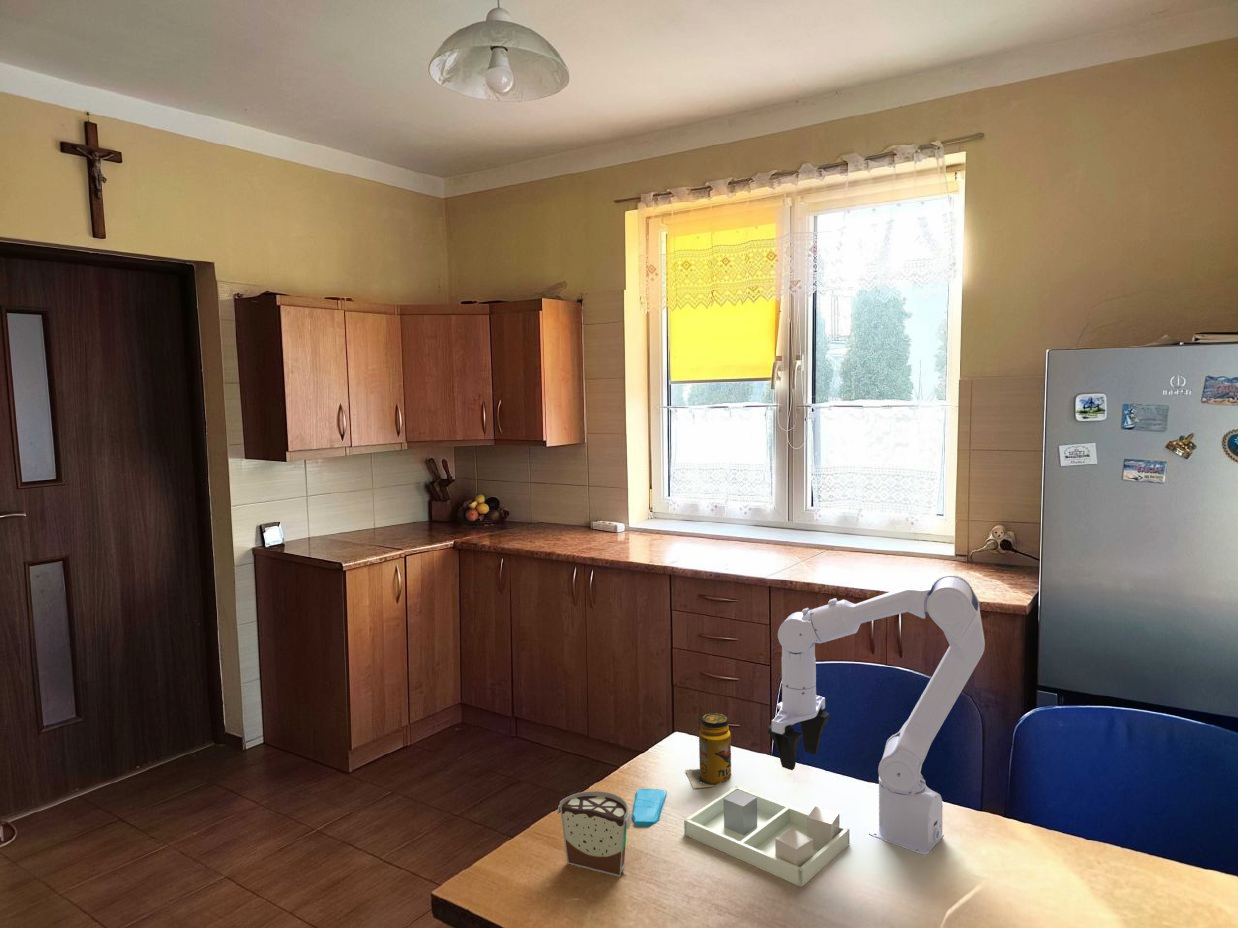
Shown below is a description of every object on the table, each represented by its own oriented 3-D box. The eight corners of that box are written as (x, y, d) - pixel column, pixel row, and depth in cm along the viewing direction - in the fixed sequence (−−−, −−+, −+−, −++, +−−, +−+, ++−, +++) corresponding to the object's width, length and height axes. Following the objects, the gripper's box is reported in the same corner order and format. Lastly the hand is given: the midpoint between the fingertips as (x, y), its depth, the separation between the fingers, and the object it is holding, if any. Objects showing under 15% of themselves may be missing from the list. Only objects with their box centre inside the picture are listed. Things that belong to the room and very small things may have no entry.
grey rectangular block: (757, 825, 134) (756, 797, 134) (743, 835, 131) (743, 806, 131) (737, 817, 137) (737, 789, 136) (724, 826, 134) (723, 798, 134)
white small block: (839, 842, 128) (839, 812, 128) (831, 854, 125) (831, 823, 125) (815, 835, 131) (815, 806, 130) (807, 847, 127) (806, 817, 127)
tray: (849, 846, 128) (849, 828, 128) (801, 889, 117) (801, 870, 117) (736, 802, 143) (736, 786, 143) (684, 837, 132) (684, 819, 132)
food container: (645, 857, 127) (643, 797, 126) (629, 879, 121) (627, 816, 120) (577, 841, 132) (575, 783, 131) (559, 861, 126) (556, 801, 125)
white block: (813, 870, 121) (812, 839, 121) (796, 881, 119) (796, 849, 118) (792, 859, 124) (791, 828, 124) (775, 869, 122) (775, 837, 121)
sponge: (622, 820, 137) (655, 820, 135) (636, 787, 148) (667, 786, 147) (623, 829, 137) (656, 828, 135) (637, 795, 148) (668, 794, 147)
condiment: (737, 785, 149) (736, 723, 148) (693, 789, 148) (692, 727, 147) (727, 767, 157) (726, 708, 156) (685, 771, 156) (683, 712, 155)
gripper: (800, 667, 144) (800, 739, 145) (755, 690, 134) (756, 767, 135) (835, 675, 139) (836, 750, 140) (792, 700, 129) (793, 780, 130)
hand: (799, 759), depth 137 cm, fingers open, 7 cm apart
